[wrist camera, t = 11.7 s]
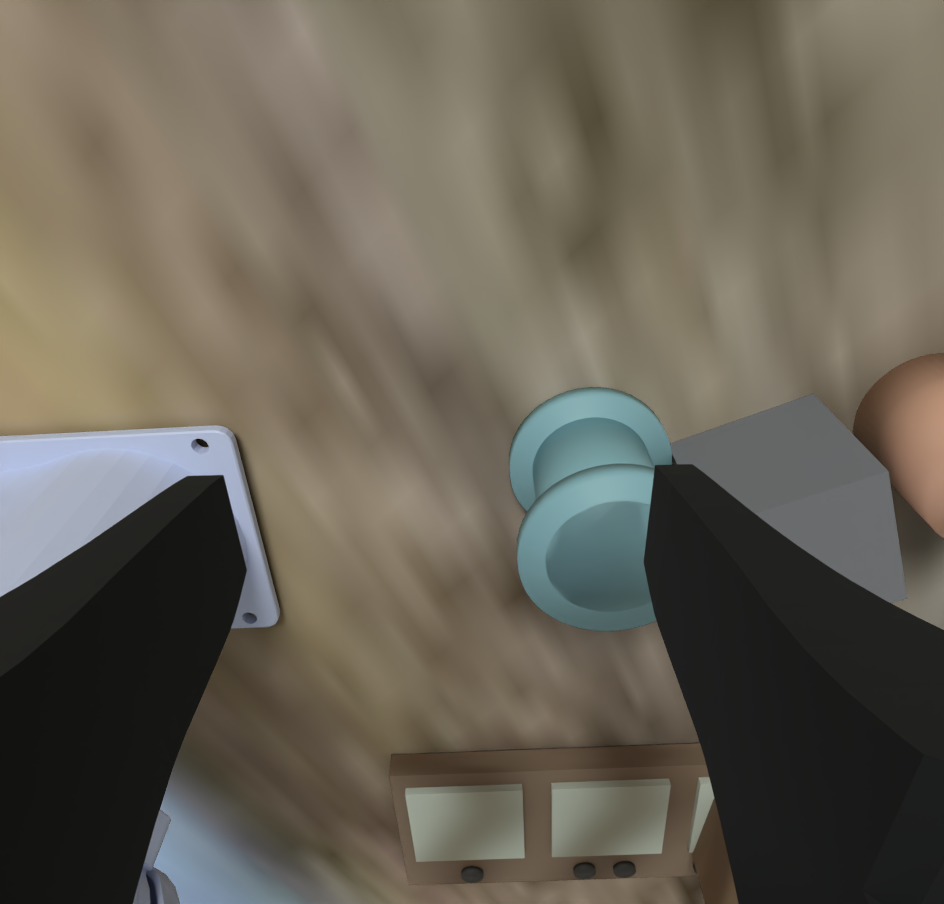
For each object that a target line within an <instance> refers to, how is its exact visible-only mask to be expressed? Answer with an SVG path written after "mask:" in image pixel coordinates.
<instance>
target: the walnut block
mask: <svg viewBox="0 0 944 904" xmlns="http://www.w3.org/2000/svg"><path fill="white" fill-rule="evenodd" d="M692 856H693V860H694V864H695V867H696V871H697V875H698V878H699V882H700V886H701V889H702V893H703V897H704V900H705V904H738V899H737V894H736V889H735V885H734V880H733V876H732V871H731V867H730V863H729V858H728V854H727V849H726V845H725V841H724V836H723V832H722V827H721V823H720V819H719V815H718V810H717V806H716V802H715V799H714V800H713V802H712V805H711V807H710V810H709V812H708V815H707V818H706V820H705V823H704V825H703V828H702V830H701V833H700V836H699V838H698V841H697V843H696V846H695V848H694V851H693V853H692Z"/></svg>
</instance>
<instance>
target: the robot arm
mask: <svg viewBox="0 0 944 904" xmlns="http://www.w3.org/2000/svg"><path fill="white" fill-rule="evenodd" d="M196 439H203V440H204V441H206V442H207V444H208V445H209V447H202V446H200V445H199V444H198V443H197V442H196ZM644 567H645V572H646V577H647V582H648V587H649V592H650V597H651V601H652V606H653V610H654V614H655V617H656V620H657V623H658V626H659V629H660V632H661V635H662V637H663V640H664V643H665V646H666V649H667V652H668V654H669V657H670V660H671V663H672V665H673V668H674V671H675V674H676V676H677V679H678V682H679V685H680V688H681V690H682V693H683V696H684V699H685V701H686V704H687V707H688V710H689V712H690V715H691V718H692V721H693V724H694V726H695V729H696V732H697V735H698V738H699V742H700V745H701V748H702V751H703V755H704V758H705V762H706V766H707V770H708V774H709V778H710V782H711V786H712V790H713V794H714V798H715V802H716V806H717V810H718V815H719V819H720V823H721V827H722V832H723V836H724V841H725V845H726V849H727V854H728V858H729V863H730V867H731V871H732V876H733V880H734V885H735V889H736V894H737V899H738V904H944V630H942V629H940V628H938V627H936V626H934V625H932V624H930V623H928V622H926V621H924V620H922V619H920V618H918V617H916V616H914V615H912V614H910V613H908V612H906V611H904V610H902V609H900V608H898V607H897V606H895V605H893V604H891V603H889V602H887V601H886V600H884V599H882V598H880V597H879V596H877V595H875V594H874V593H872V592H870V591H868V590H867V589H865V588H863V587H861V586H860V585H858V584H856V583H854V582H853V581H851V580H849V579H848V578H846V577H844V576H843V575H841V574H840V573H838V572H836V571H835V570H833V569H832V568H830V567H829V566H827V565H826V564H824V563H823V562H821V561H820V560H818V559H817V558H815V557H814V556H812V555H811V554H809V553H808V552H806V551H805V550H803V549H802V548H801V547H799V546H798V545H796V544H795V543H793V542H792V541H791V540H789V539H788V538H787V537H785V536H784V535H782V534H781V533H780V532H778V531H777V530H776V529H774V528H773V527H772V526H770V525H769V524H768V523H766V522H765V521H764V520H762V519H761V518H760V517H759V516H757V515H756V514H755V513H753V512H752V511H751V510H750V509H748V508H747V507H746V506H745V505H743V504H742V503H741V502H740V501H738V500H737V499H736V498H735V497H733V496H732V495H731V494H730V493H728V492H727V491H726V490H725V489H723V488H722V487H721V486H720V485H719V484H717V483H716V482H715V481H714V480H712V479H711V478H710V477H709V476H707V475H706V474H705V473H704V472H702V471H701V470H700V469H698V468H697V467H696V466H694V465H693V464H675V465H655V469H654V478H653V486H652V495H651V503H650V512H649V520H648V528H647V537H646V545H645V554H644ZM247 613H253V614H254V615H256V616H251V615H249V614H247ZM279 615H280V608H279V605H278V601H277V597H276V593H275V589H274V585H273V581H272V577H271V573H270V570H269V566H268V562H267V558H266V554H265V550H264V546H263V542H262V538H261V535H260V531H259V527H258V523H257V519H256V515H255V511H254V507H253V503H252V500H251V496H250V492H249V488H248V484H247V480H246V476H245V472H244V468H243V465H242V461H241V457H240V453H239V449H238V445H237V441H236V438H235V436H234V434H233V433H232V432H231V431H230V430H229V429H227V428H225V427H223V426H216V425H215V426H195V427H175V428H156V429H136V430H116V431H97V432H77V433H57V434H38V435H18V436H0V904H180V902H179V898H178V895H177V891H176V888H175V886H174V885H173V883H172V882H171V881H170V879H169V878H168V877H167V875H166V874H164V873H163V872H161V871H159V870H158V869H156V868H154V867H153V865H154V863H155V860H156V857H157V855H158V852H159V850H160V847H161V844H162V842H163V839H164V837H165V834H166V831H167V829H168V826H169V824H170V821H171V819H170V817H169V816H168V815H167V814H165V813H164V812H163V811H161V810H160V807H161V804H162V800H163V797H164V794H165V791H166V788H167V784H168V781H169V778H170V775H171V771H172V768H173V765H174V763H175V760H176V757H177V755H178V752H179V749H180V747H181V744H182V742H183V739H184V737H185V734H186V732H187V730H188V727H189V725H190V723H191V720H192V718H193V716H194V713H195V711H196V709H197V707H198V704H199V702H200V700H201V697H202V695H203V693H204V690H205V688H206V686H207V683H208V681H209V679H210V676H211V674H212V672H213V670H214V667H215V665H216V663H217V660H218V658H219V655H220V653H221V651H222V648H223V646H224V644H225V641H226V639H227V636H228V634H229V632H230V629H234V628H257V627H270V626H273V625H274V624H276V622H277V621H278V618H279Z"/></svg>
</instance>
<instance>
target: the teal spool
mask: <svg viewBox="0 0 944 904" xmlns="http://www.w3.org/2000/svg"><path fill="white" fill-rule="evenodd" d="M655 465H672V452H671V446H670V442H669V439H668V437H667V435H666V433H665V431H664V429H663V427H662V425H661V423H660V421H659V419H658V418H657V416H656V415H655V413H654V412H653V411H652V410H651V409H650V408H649V407H648V406H647V405H646V404H644V403H643V402H642V401H640V400H639V399H637V398H635V397H633V396H632V395H629V394H627V393H624V392H622V391H618V390H614V389H609V388H601V387H589V388H580V389H575V390H571V391H567V392H564V393H561V394H559V395H556V396H554V397H552V398H550V399H548V400H547V401H545V402H544V403H542V404H541V405H539V406H538V407H537V408H536V409H534V410H533V411H532V412H531V413H530V414H529V415H528V416H527V417H526V418H525V419H524V421H523V422H522V424H521V425H520V427H519V428H518V430H517V432H516V434H515V436H514V438H513V441H512V444H511V448H510V453H509V469H510V478H511V484H512V487H513V491H514V493H515V495H516V497H517V499H518V501H519V502H520V504H521V505H522V507H523V508H524V509H525V510H526V511H527V513H526V515H525V517H524V519H523V521H522V523H521V526H520V529H519V533H518V538H517V559H518V568H519V575H520V578H521V582H522V584H523V586H524V588H525V591H526V592H527V594H528V595H529V597H530V598H531V600H532V601H533V602H534V603H535V604H536V605H537V606H538V607H539V608H540V609H541V610H543V611H544V612H545V613H546V614H548V615H550V616H551V617H553V618H555V619H556V620H558V621H561V622H563V623H565V624H568V625H571V626H574V627H577V628H582V629H587V630H596V631H617V630H626V629H631V628H636V627H640V626H643V625H647V624H649V623H652V622H654V621H657V620H656V617H655V614H654V610H653V606H652V601H651V597H650V592H649V587H648V582H647V577H646V572H645V567H644V554H645V545H646V537H647V528H648V520H649V512H650V503H651V495H652V486H653V478H654V469H655Z"/></svg>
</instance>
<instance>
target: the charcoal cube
mask: <svg viewBox="0 0 944 904" xmlns="http://www.w3.org/2000/svg"><path fill="white" fill-rule="evenodd" d="M670 446H671V452H672V459H673V462H674V465H675V464H693V465H694V466H696V467H697V468H698V469H700V470H701V471H702V472H704V473H705V474H706V475H707V476H709V477H710V478H711V479H712V480H714V481H715V482H716V483H717V484H719V485H720V486H721V487H722V488H723V489H725V490H726V491H727V492H728V493H730V494H731V495H732V496H733V497H735V498H736V499H737V500H738V501H740V502H741V503H742V504H743V505H745V506H746V507H747V508H748V509H750V510H751V511H752V512H753V513H755V514H756V515H757V516H759V517H760V518H761V519H762V520H764V521H765V522H766V523H768V524H769V525H770V526H772V527H773V528H774V529H776V530H777V531H778V532H780V533H781V534H782V535H784V536H785V537H787V538H788V539H789V540H791V541H792V542H793V543H795V544H796V545H798V546H799V547H801V548H802V549H803V550H805V551H806V552H808V553H809V554H811V555H812V556H814V557H815V558H817V559H818V560H820V561H821V562H823V563H824V564H826V565H827V566H829V567H830V568H832V569H833V570H835V571H836V572H838V573H840V574H841V575H843V576H844V577H846V578H848V579H849V580H851V581H853V582H854V583H856V584H858V585H860V586H861V587H863V588H865V589H867V590H868V591H870V592H872V593H874V594H875V595H877V596H879V597H880V598H882V599H884V600H886V601H887V602H889V603H893V602H897V601H900V600H904V599H907V593H906V586H905V579H904V572H903V566H902V559H901V552H900V545H899V539H898V532H897V525H896V518H895V511H894V505H893V498H892V491H891V484H890V478H889V471H888V470H887V469H886V468H885V467H884V466H883V465H882V464H881V463H880V462H879V461H878V460H877V459H876V458H875V457H874V456H873V455H872V454H871V453H870V451H869V450H868V449H867V448H866V447H865V446H864V445H863V444H862V443H861V442H860V441H859V440H858V439H857V438H856V437H855V436H854V435H853V434H852V433H851V432H850V431H849V430H848V429H847V428H846V427H845V426H844V425H843V424H842V423H841V422H840V421H839V419H838V418H837V417H836V416H835V415H834V414H833V413H832V412H831V411H830V410H829V409H828V408H827V407H826V406H825V405H824V404H823V403H822V402H821V401H820V400H819V399H818V398H817V397H816V396H815V395H814V394H811V395H808V396H805V397H802V398H799V399H796V400H793V401H791V402H788V403H785V404H782V405H779V406H776V407H773V408H771V409H768V410H765V411H762V412H759V413H756V414H753V415H750V416H748V417H745V418H742V419H739V420H736V421H733V422H730V423H728V424H725V425H722V426H719V427H716V428H713V429H710V430H708V431H705V432H702V433H699V434H696V435H693V436H690V437H687V438H685V439H682V440H679V441H676V442H673V443H670Z"/></svg>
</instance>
